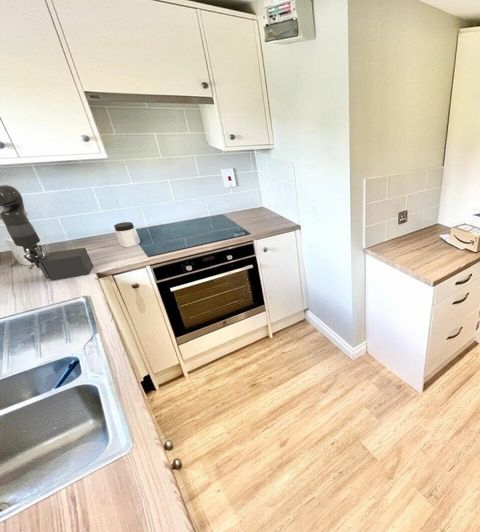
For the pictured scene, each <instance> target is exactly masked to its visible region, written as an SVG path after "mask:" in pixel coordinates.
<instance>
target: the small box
mask: <svg viewBox="0 0 480 532" xmlns="http://www.w3.org/2000/svg"><path fill="white" fill-rule="evenodd" d="M5 242H6V244H7V246H8V248H9V249H10V251H11V252H12V254H13V256H14V258H15V260H16V261H17V263H18V264H19V265H22V266H27V267H29V265H30V264H34V263H31V262H30V261H28V260H27V259H26V258H24V255H26V253H25V252H24V251H23V247H22V246H16V245H15V243H14V241H13V240H12V238H11V237H10V238H8V239H5ZM37 245H40V244H39V242H38V243H37ZM42 253H43V257H44V256H46V255H45V253H44V251H43V250H42ZM43 257H42V258H43Z"/></svg>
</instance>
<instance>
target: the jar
mask: <svg viewBox="0 0 480 532" xmlns="http://www.w3.org/2000/svg"><path fill="white" fill-rule="evenodd" d="M113 228H114V232H115V235H116V238H117V240H118V242H119V245H120V246H121V247H124V248H131V247H135V246H136V247H137V246H138V245H139V244H140V243H141V240H140V237H139V234H138V231H137V229H136V227H135V225H134V224H133V222H132V221H131V222H130V221H124V222H119V223H116V224H114V226H113Z"/></svg>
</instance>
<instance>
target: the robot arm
mask: <svg viewBox="0 0 480 532" xmlns="http://www.w3.org/2000/svg"><path fill="white" fill-rule="evenodd" d="M0 207H3V209H2V210H1V211H0V218H1V220H2V223H3V224H4V226H5V227H6V231H7V232H8V235H9V236H10V238H12V240H13V241H14V243H15V245H16V246H22V247H23V251H24V252H25V253H26V255H24V258H26V259H27V260H28V261H30V262H31V263H33V264H36V266H35V267H36V268H39V265H38V263H39V262H40V261H41V260H42V259H43V258H42V257H43V253H44V252H43V253H42V251H43V248H42V245H40V244H39V243H40V242H41V238H40V237H39V234H38V233H37V231H36V228H34V225H33V224H32V223H31V221H30V219H29V217H28V215H27V214H26V212H25V205H24V199H23V196H22V194H21V192H20V191H19V190H18V189H17V188H16V187H14V186H12V185H7V184H6V185H5V184H4V185H0ZM37 243H38V244H39V245H37ZM38 270H39V271H40V270H41V269H38ZM41 271H42V270H41Z"/></svg>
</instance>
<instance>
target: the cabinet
mask: <svg viewBox="0 0 480 532" xmlns="http://www.w3.org/2000/svg"><path fill="white" fill-rule="evenodd" d="M45 256H46V255H45ZM42 263H43V265H44V267H45V269H46V271H47V273H48V274H49V276H50V280H51V281H52V282H53V281H59V280H66V279H71V278H77V277H83V276H88V275H90V273H91V271H92V270H93V268H94V264H93V262H92V259H91V257H90V255H89V253H88V251H87V248H86V247H80V248H73V249H72V248H70V249H65V250H57V251H51V252H48V253H47V256H46V257H45V258H44V259H43V261H42ZM82 275H83V276H82Z"/></svg>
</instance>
